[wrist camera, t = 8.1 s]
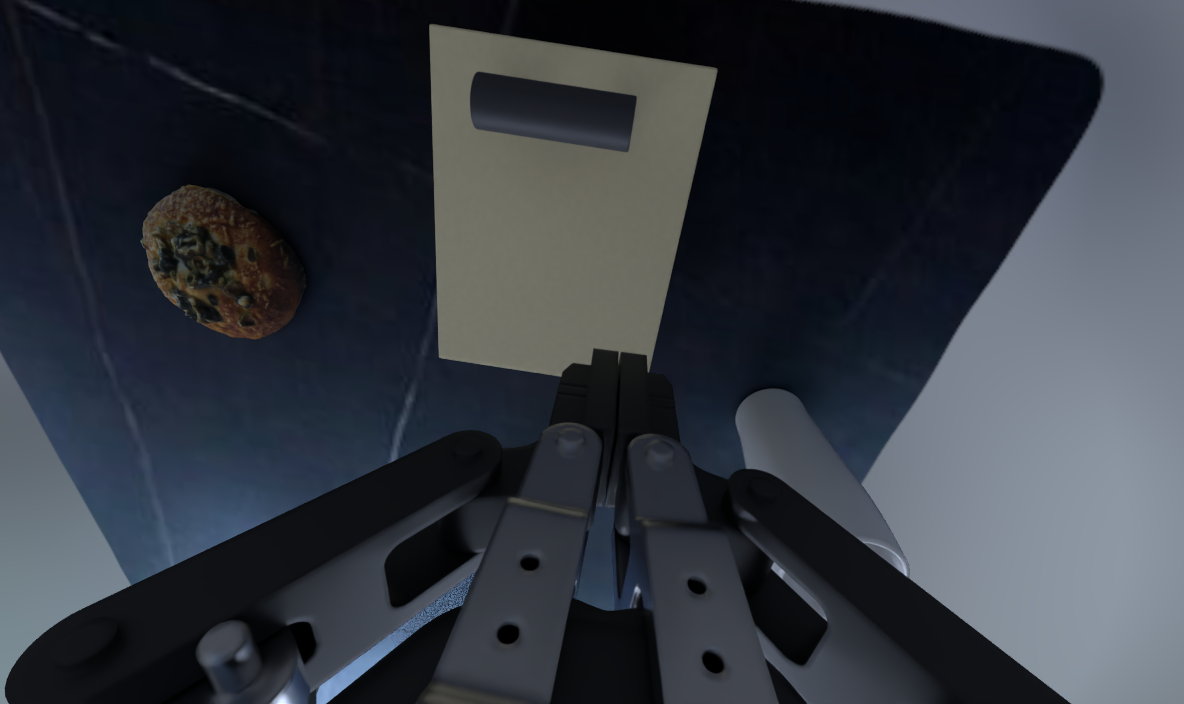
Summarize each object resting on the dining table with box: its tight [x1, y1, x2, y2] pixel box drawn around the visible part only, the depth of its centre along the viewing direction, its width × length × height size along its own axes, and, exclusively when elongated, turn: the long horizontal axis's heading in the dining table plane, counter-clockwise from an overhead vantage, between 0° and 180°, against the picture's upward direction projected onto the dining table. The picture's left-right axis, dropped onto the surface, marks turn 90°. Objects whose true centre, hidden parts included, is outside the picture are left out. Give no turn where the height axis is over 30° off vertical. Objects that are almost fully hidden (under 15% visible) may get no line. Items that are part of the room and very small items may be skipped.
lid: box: [429, 24, 717, 376], centre depth 20 cm, size 15×12×5 cm
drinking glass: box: [735, 388, 910, 619], centre depth 31 cm, size 7×7×15 cm
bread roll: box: [141, 185, 307, 339], centre depth 33 cm, size 11×11×5 cm
